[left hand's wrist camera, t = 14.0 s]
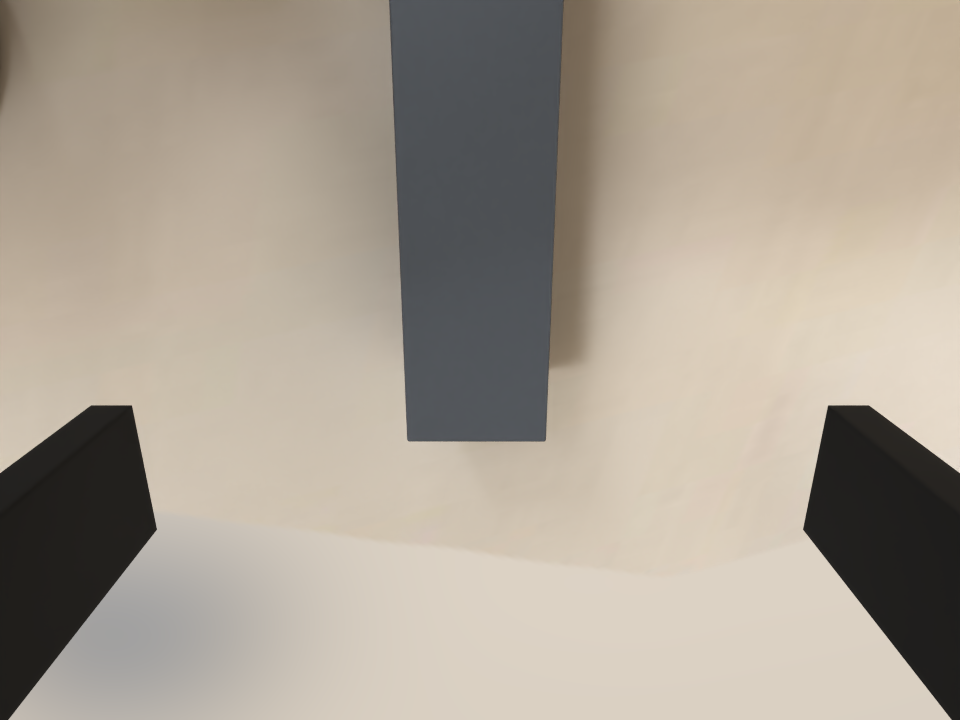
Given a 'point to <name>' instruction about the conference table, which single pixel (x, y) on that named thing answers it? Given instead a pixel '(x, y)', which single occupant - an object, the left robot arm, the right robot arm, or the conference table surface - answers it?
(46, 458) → the left robot arm
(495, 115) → the beam
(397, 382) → the conference table surface
